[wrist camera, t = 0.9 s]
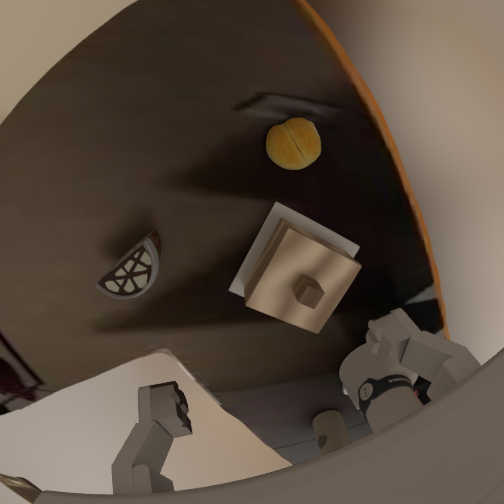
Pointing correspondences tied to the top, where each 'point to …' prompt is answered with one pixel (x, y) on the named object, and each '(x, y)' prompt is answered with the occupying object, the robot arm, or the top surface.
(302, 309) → the tan block
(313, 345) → the top surface
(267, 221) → the white paper sheet
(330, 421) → the travel mug
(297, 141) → the bread roll
